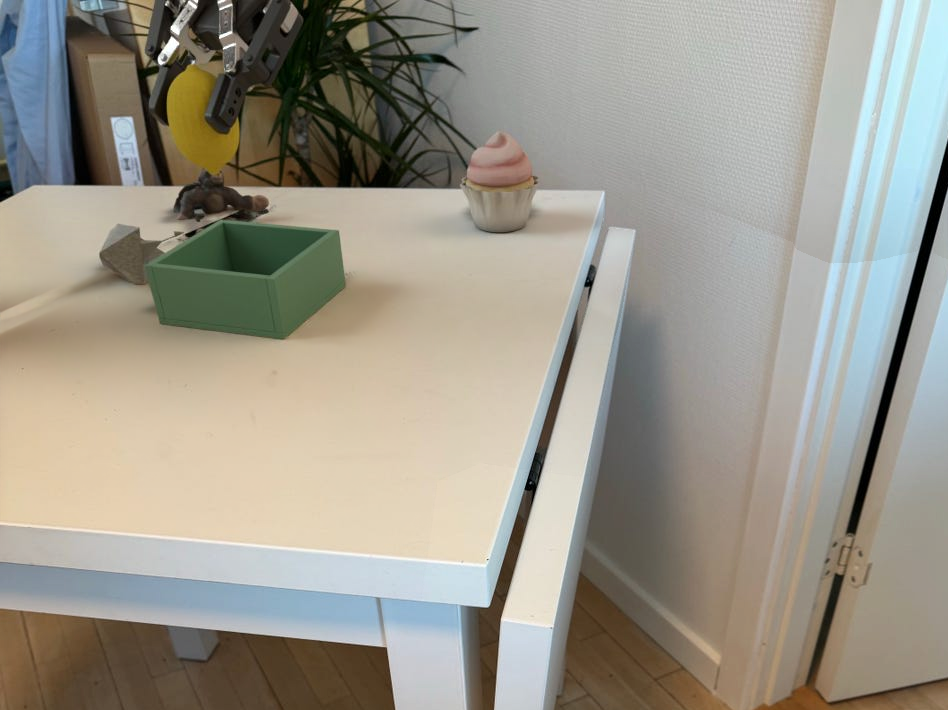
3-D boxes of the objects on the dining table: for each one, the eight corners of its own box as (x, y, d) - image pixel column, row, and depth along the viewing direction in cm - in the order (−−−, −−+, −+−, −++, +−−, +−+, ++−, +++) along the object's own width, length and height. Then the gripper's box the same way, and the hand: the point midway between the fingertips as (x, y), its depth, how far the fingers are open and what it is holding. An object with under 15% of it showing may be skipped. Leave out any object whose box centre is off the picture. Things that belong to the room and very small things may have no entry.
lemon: (254, 164, 78) (234, 56, 73) (239, 184, 74) (217, 70, 69) (191, 166, 78) (167, 58, 73) (173, 185, 74) (145, 72, 69)
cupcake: (450, 235, 105) (446, 139, 98) (474, 210, 111) (471, 118, 105) (528, 241, 103) (529, 143, 96) (548, 215, 109) (550, 122, 102)
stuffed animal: (166, 235, 103) (157, 147, 106) (187, 288, 113) (178, 206, 115) (270, 225, 104) (258, 138, 107) (282, 278, 114) (271, 197, 117)
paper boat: (110, 249, 101) (186, 217, 100) (135, 305, 102) (210, 274, 101) (66, 219, 89) (153, 183, 88) (96, 283, 90) (181, 248, 90)
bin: (159, 323, 88) (143, 265, 84) (231, 274, 97) (220, 219, 93) (284, 339, 84) (273, 279, 81) (346, 286, 94) (339, 230, 90)
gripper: (160, -121, 71) (89, 85, 72) (302, -122, 65) (223, 102, 66) (221, -45, 78) (156, 143, 79) (355, -40, 72) (283, 162, 73)
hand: (187, 123), depth 72 cm, fingers closed on lemon, 5 cm apart
